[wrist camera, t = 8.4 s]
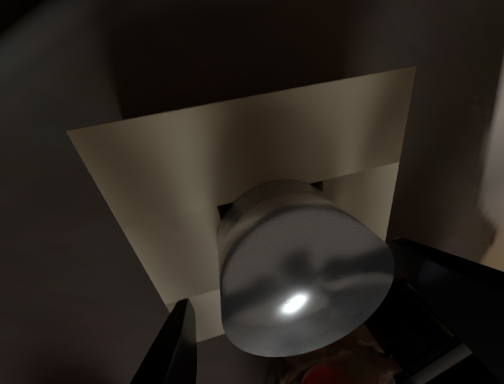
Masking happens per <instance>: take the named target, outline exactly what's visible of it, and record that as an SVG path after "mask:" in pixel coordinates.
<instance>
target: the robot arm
mask: <svg viewBox="0 0 504 384" xmlns="http://www.w3.org/2000/svg"><path fill="white" fill-rule="evenodd" d="M389 248H390V250H391V252H392V254H393V258H394V264H395V266H396V267H397V268H398V270H399V271H400V272H401V273H402V275H403V276H404V277H405V279H406V280H403V281H400V282H397V283H394V284H391V287H390V289H389V291H388V293H387V295H386V297H385V298H384V300H383V301H382V303H381V304H380V305H379V307H378V308H377V309H376V310H375V311H374V313H373V314H372V315H371V316H370V317H369V318H368V319H367V320H366V321H364V322H363V323H364V324H365V326H366V327H367V328H368V330H369V331H370V333H371V334H372V336H373V337H374V338H375V340H376V341H377V343H378V344H379V346H380V347H381V348H382V350H383V351H384V353H385V354H386V356H388V357H393V358H394V360H395V361H396V363H397V364H398V365H399V367H400V368H401V370H402V372H400V373H399V374H398V373H396V374H395V375H393V377H394V379H395V384H504V272H503V271H500V270H497V269H494V268H491V267H488V266H485V265H482V264H479V263H476V262H473V261H470V260H467V259H464V258H461V257H458V256H455V255H452V254H449V253H446V252H443V251H441V250H438V249H435V248H432V247H429V246H426V245H423V244H420V243H417V242H414V241H411V240H408V239H405V238H402V237H397V238H394V239H391V240H390V242H389ZM414 290H415V291H416V292H417V293H418V294H419V295H420V296H419V295H418V294H417V293H416V292H415V291H414ZM196 371H197V341H196V315H195V310H194V308H193V306H192V304H191V302H190V300H189V298H185V299H181V300H179V301H177V303H176V304H175V306H174V308H173V309H172V311H171V313H170V315H169V316H168V318H167V320H166V322H165V323H164V325H163V327H162V329H161V330H160V332H159V334H158V336H157V337H156V339H155V341H154V342H153V344H152V346H151V348H150V349H149V351H148V353H147V355H146V356H145V358H144V360H143V362H142V363H141V365H140V367H139V369H138V370H137V372H136V374H135V375H134V377H133V379H132V381H131V382H130V384H196Z"/></svg>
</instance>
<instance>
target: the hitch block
mask: <svg viewBox="0 0 504 384" xmlns="http://www.w3.org/2000/svg"><path fill="white" fill-rule="evenodd" d="M416 67H417V66H414V67H408V68H402V69H396V70H391V71H385V72H379V73H373V74H368V75H362V76H356V77H350V78H345V79H339V80H334V81H328V82H323V83H318V84H312V85H307V86H301V87H296V88H291V89H285V90H280V91H275V92H269V93H264V94H258V95H253V96H248V97H242V98H237V99H231V100H226V101H221V102H215V103H210V104H204V105H199V106H194V107H188V108H183V109H178V110H172V111H167V112H161V113H156V114H151V115H145V116H140V117H134V118H129V119H124V120H119V121H114V122H109V123H104V124H99V125H94V126H89V127H84V128H80V129H75V130H70V131H66V132H67V134H68V136H69V137H70V139H71V141H72V143H73V144H74V146H75V148H76V150H77V151H78V153H79V155H80V157H81V158H82V160H83V162H84V164H85V165H86V167H87V169H88V171H89V172H90V174H91V176H92V177H93V179H94V181H95V183H96V184H97V186H98V188H99V190H100V191H101V193H102V195H103V197H104V198H105V200H106V202H107V204H108V205H109V207H110V209H111V211H112V212H113V214H114V216H115V218H116V219H117V221H118V223H119V225H120V226H121V228H122V230H123V232H124V233H125V235H126V237H127V239H128V240H129V242H130V244H131V246H132V247H133V249H134V251H135V253H136V254H137V256H138V258H139V259H140V261H141V263H142V265H143V266H144V268H145V270H146V272H147V273H148V275H149V277H150V279H151V280H152V282H153V284H154V286H155V287H156V289H157V291H158V293H159V294H160V296H161V298H162V300H163V301H164V303H165V305H166V307H167V308H168V310H169V312H170V313H171V311H172V309H173V308H174V306H175V304H176V303H177V301H179V300H181V299H185V298H189V300H190V302H191V304H192V306H193V308H194V310H195V315H196V341H197V342H200V341H203V340H206V339H209V338H212V337H215V336H219V335H222V334H225V332H224V330H223V326H222V320H221V302H220V284H219V267H218V249H217V233H218V228H219V225H220V222H221V220H222V218H223V216H224V214H225V210H224V207H223V205H224V204H228V203H232V202H234V201H235V200H236V199H237V198H239V197H240V196H241V195H242V194H244V193H245V192H247V191H248V190H250V189H252V188H253V187H256V186H258V185H260V184H262V183H266V182H269V181H274V180H279V179H293V180H300V181H304V182H307V183H309V184H312V185H313V186H315V187H317V188H318V189H319V190H321V191H322V192H323V193H324V194H326V195H327V196H328V197H329V198H331V199H332V200H333V201H335V202H336V203H337V204H338V205H340V206H341V207H342V208H343V209H345V210H346V211H347V212H348V213H350V214H351V215H352V216H353V217H355V218H356V219H357V220H358V221H360V222H361V223H362V224H363V225H365V226H366V227H367V228H368V229H370V230H371V231H372V232H374V233H375V234H376V235H377V236H379V237H380V238H381V239H382V240H383V241H384V242H385V239H386V234H387V228H388V223H389V217H390V211H391V206H392V200H393V195H394V189H395V184H396V178H397V173H398V167H399V161H400V156H401V150H402V145H403V139H404V134H405V128H406V123H407V117H408V111H409V106H410V100H411V95H412V89H413V84H414V78H415V73H416Z"/></svg>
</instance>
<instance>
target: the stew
mask: <svg viewBox="0 0 504 384" xmlns="http://www.w3.org/2000/svg"><path fill="white" fill-rule="evenodd" d="M283 360H284V361H285V364H284V365H283V366H282V367H281V368H280V370H279V371H278V373H277V375H276V378H275V382H274V384H291V383H293V382H294V381H296V380H297V379H299V378H300V377H302V376H303V378H302V382H301V384H395V379H394V377H393V375H395V374H396V373H398V374H399V373H400V372H402V370H401V368H400V367H399V365H398V364H397V363H396V361H395V360H394V358H393V357H388V356H386V354H385V353H384V351H383V350H382V348H381V347H380V346H379V344H378V343H377V341H376V340H375V338H374V337H373V336H372V334H371V333H370V331H369V330H368V328H367V327H366V326H365V324H364V323H362V324H361V325H360V326H358V327H357V328H356V329H354V330H353V331H352V332H350V333H349V334H347V335H345V336H344V337H342V338H341V339H339V340H337V341H335V342H333V343H331V344H329V345H326V346H324V347H322V348H319V349H316V350H313V351H310V352H307V353H303V354H298V355H293V356H286V357H285V358H284V359H283ZM304 374H305V375H304Z"/></svg>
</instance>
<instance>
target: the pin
mask: <svg viewBox="0 0 504 384" xmlns="http://www.w3.org/2000/svg"><path fill="white" fill-rule="evenodd" d="M217 249H218V267H219V284H220V302H221V320H222V326H223V330H224V332H225V334H226V336H227V337H228V338H229V340H230V341H231V342H232V343H233V344H234V345H236V346H237V347H238V348H240V349H242V350H243V351H246V352H248V353H251V354H254V355H259V356H266V357H286V356H293V355H298V354H303V353H307V352H310V351H313V350H316V349H319V348H322V347H324V346H326V345H329V344H331V343H333V342H335V341H337V340H339V339H341V338H342V337H344V336H345V335H347V334H349V333H350V332H352V331H353V330H354V329H356V328H357V327H358V326H360V325H361V324H362V323H363V322H364V321H366V320H367V319H368V318H369V317H370V316H371V315H372V314H373V313H374V311H375V310H376V309H377V308H378V307H379V305H380V304H381V303H382V301H383V300H384V298H385V297H386V295H387V293H388V291H389V289H390V287H391V284H392V281H393V277H394V271H395V264H394V258H393V254H392V252H391V250H390V248H389V247H388V245H387V244H386V243H385V242H384V241H383V240H382V239H381V238H380V237H379V236H377V235H376V234H375V233H374V232H372V231H371V230H370V229H368V228H367V227H366V226H365V225H363V224H362V223H361V222H360V221H358V220H357V219H356V218H355V217H353V216H352V215H351V214H350V213H348V212H347V211H346V210H345V209H343V208H342V207H341V206H340V205H338V204H337V203H336V202H335V201H333V200H332V199H331V198H329V197H328V196H327V195H326V194H324V193H323V192H322V191H321V190H319V189H318V188H317V187H315V186H313V185H312V184H309V183H307V182H304V181H300V180H293V179H279V180H274V181H269V182H266V183H262V184H260V185H258V186H256V187H253V188H252V189H250V190H248V191H247V192H245V193H244V194H242V195H241V196H240V197H239V198H237V199H236V200H235V201H234V202H233V203H232V204H231V206H230V207H229V208H228V209H227V211H226V213H225V214H224V216H223V218H222V220H221V222H220V225H219V228H218V233H217Z"/></svg>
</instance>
